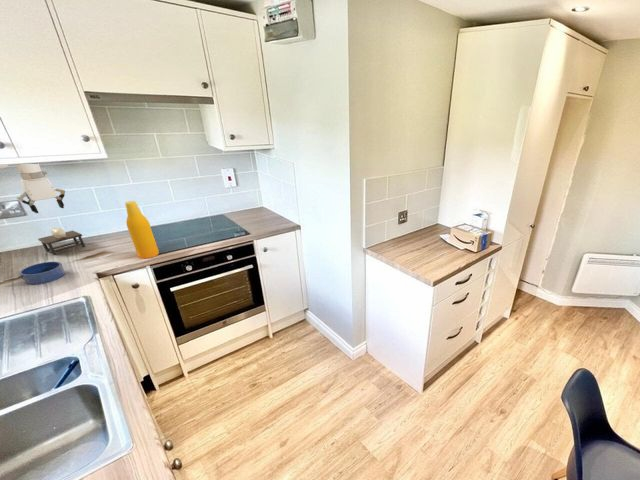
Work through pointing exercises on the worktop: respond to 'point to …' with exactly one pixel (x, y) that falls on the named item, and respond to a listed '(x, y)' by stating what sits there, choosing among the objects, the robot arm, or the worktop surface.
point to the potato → (58, 232)
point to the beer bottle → (140, 232)
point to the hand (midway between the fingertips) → (49, 210)
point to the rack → (51, 239)
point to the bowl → (42, 272)
